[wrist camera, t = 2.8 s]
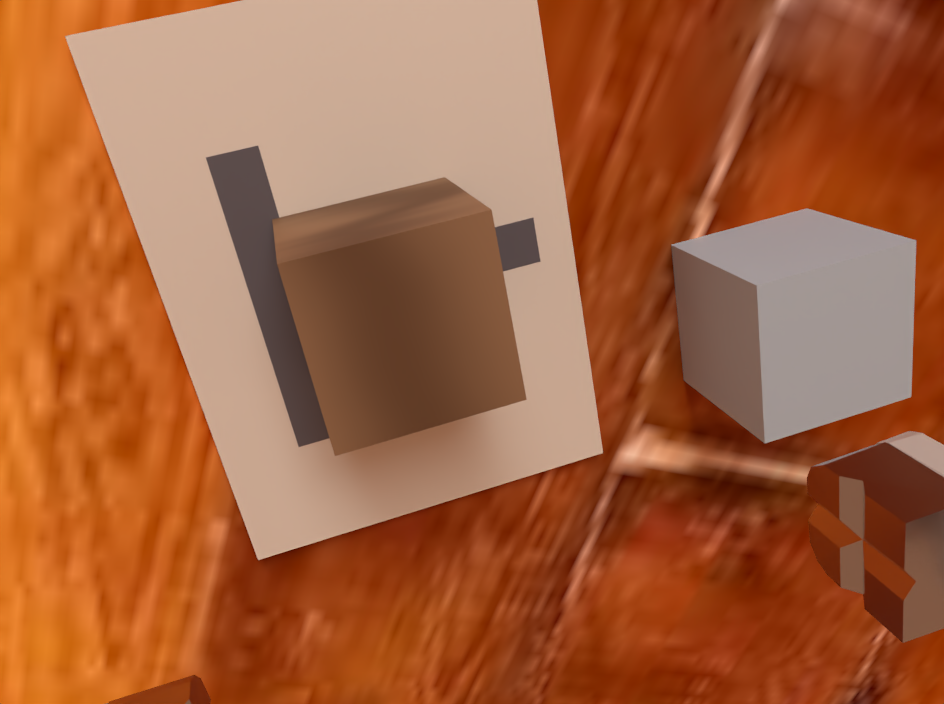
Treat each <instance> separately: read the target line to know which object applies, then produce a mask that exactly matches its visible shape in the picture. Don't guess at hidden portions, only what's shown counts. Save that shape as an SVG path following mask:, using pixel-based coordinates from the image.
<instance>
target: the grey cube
mask: <svg viewBox="0 0 944 704" xmlns="http://www.w3.org/2000/svg"><path fill="white" fill-rule="evenodd" d="M671 249H672V259H673V270H674V281H675V292H676V303H677V313H678V324H679V335H680V346H681V356H682V367H683V378H684V381H685V382H686V383H687V384H689V385H690V386H691V387H693V388H694V389H695V390H696V391H698V392H699V393H700V394H702V395H703V396H704V397H705V398H707V399H708V400H709V401H711V402H712V403H713V404H714V405H716V406H717V407H718V408H720V409H721V410H722V411H723V412H725V413H726V414H727V415H729V416H730V417H731V418H733V419H734V420H735V421H736V422H738V423H739V424H740V425H742V426H743V427H744V428H745V429H747V430H748V431H749V432H751V433H752V434H753V435H754V436H756V437H757V438H758V439H760V440H761V441H762V442H763V443H768V442H771V441H774V440H778V439H781V438H784V437H787V436H790V435H793V434H796V433H800V432H803V431H806V430H809V429H812V428H815V427H818V426H822V425H825V424H828V423H831V422H834V421H837V420H840V419H844V418H847V417H850V416H853V415H856V414H859V413H862V412H866V411H869V410H872V409H875V408H878V407H881V406H884V405H888V404H891V403H894V402H897V401H900V400H903V399H906V398H910V397H911V388H912V357H913V326H914V295H915V264H916V240H913V239H909V238H906V237H903V236H899V235H896V234H892V233H889V232H886V231H882V230H879V229H875V228H872V227H869V226H865V225H862V224H858V223H855V222H851V221H848V220H845V219H841V218H838V217H834V216H831V215H828V214H824V213H821V212H817V211H814V210H811V209H803V210H799V211H796V212H792V213H788V214H784V215H781V216H777V217H773V218H769V219H766V220H762V221H758V222H755V223H751V224H747V225H743V226H740V227H736V228H732V229H729V230H725V231H721V232H717V233H714V234H710V235H706V236H702V237H699V238H695V239H691V240H688V241H684V242H680V243H676V244H673V245H671Z"/></svg>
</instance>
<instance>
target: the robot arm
mask: <svg viewBox="0 0 944 704" xmlns="http://www.w3.org/2000/svg"><path fill="white" fill-rule="evenodd" d="M807 494H808V495H809V496H810V497H811V498H812V499H814V500H815V501H816V502H817V503H818V504H817V506H816V508H815V510H814V512H813V513H812V515H811V517H810V519H809V521H808V524H809V537H810V544H811V546H812V548H813V551H814V553H815V556H816V558H817V561H818V562H819V564H820V565H821V567H822V568H823V569H824V571H825V572H826V574H827V575H828V576H829V577H830V578H831V579H832V580H833V581H834V582H836V583H837V584H838V585H839V586H840V587H841V588H845V589H848V590H851V591H854V592H858V593H861V594H863V598H864V607H865V610H867V611H868V612H869V613H870V614H871V615H872V616H873V617H874V618H876V619H877V620H878V621H879V622H880V623H881V624H882V625H883V626H885V627H886V628H887V629H888V630H889V631H890V632H891V633H892V634H894V635H895V636H896V637H897V638H898V639H899V640H900V641H901V642H906V641H909V640H912V639H915V638H918V637H920V636H923V635H926V634H929V633H932V632H935V631H937V630H940V629H943V628H944V445H942V444H941V443H939V442H937V441H935V440H934V439H932V438H930V437H928V436H926V435H925V434H923V433H919V432H912V431H908V432H905V433H903V434H900V435H897V436H895V437H892V438H889V439H886V440H884V441H881V442H878V443H877V444H876V445H873V446H870V447H867V448H864V449H861V450H858V451H855V452H853V453H850V454H847V455H844V456H841V457H838V458H835V459H832V460H829V461H826V462H824V463H821V464H818V465H815V466H812V467H811V469H810V471H809V474H808V477H807ZM210 702H211V699H210V697H209V695H208V693H207V690H206V688H205V686H204V684H203V682H202V680H201V678H199V677H197V676H196V675H192V676H189V677H186V678H183V679H180V680H176V681H173V682H170V683H167V684H164V685H161V686H157V687H154V688H151V689H148V690H145V691H141V692H138V693H135V694H132V695H129V696H126V697H122V698H119V699H116V700H113V701H110V702H109V703H107V704H210Z"/></svg>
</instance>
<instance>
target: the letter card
mask: <svg viewBox="0 0 944 704" xmlns="http://www.w3.org/2000/svg"><path fill="white" fill-rule="evenodd" d="M65 38H66V40H67V43H68V46H69V48H70V51H71V54H72V57H73V59H74V62H75V65H76V67H77V70H78V73H79V76H80V78H81V81H82V84H83V86H84V89H85V92H86V95H87V97H88V100H89V103H90V105H91V108H92V111H93V114H94V116H95V119H96V122H97V124H98V127H99V130H100V133H101V135H102V138H103V141H104V143H105V146H106V149H107V152H108V154H109V157H110V160H111V162H112V165H113V168H114V170H115V173H116V176H117V179H118V181H119V184H120V187H121V189H122V192H123V195H124V198H125V200H126V203H127V206H128V208H129V211H130V214H131V217H132V219H133V222H134V225H135V227H136V230H137V233H138V236H139V238H140V241H141V244H142V246H143V249H144V252H145V255H146V257H147V260H148V263H149V265H150V268H151V271H152V274H153V276H154V279H155V282H156V284H157V287H158V290H159V293H160V295H161V298H162V301H163V303H164V306H165V309H166V312H167V314H168V317H169V320H170V322H171V325H172V328H173V331H174V333H175V336H176V339H177V341H178V344H179V347H180V349H181V352H182V355H183V358H184V360H185V363H186V366H187V368H188V371H189V374H190V377H191V379H192V382H193V385H194V387H195V390H196V393H197V396H198V398H199V401H200V404H201V406H202V409H203V412H204V415H205V417H206V420H207V423H208V425H209V428H210V431H211V434H212V436H213V439H214V442H215V444H216V447H217V450H218V453H219V455H220V458H221V461H222V463H223V466H224V469H225V472H226V474H227V477H228V480H229V482H230V485H231V488H232V491H233V493H234V496H235V499H236V501H237V504H238V507H239V509H240V512H241V515H242V518H243V520H244V523H245V526H246V528H247V531H248V534H249V537H250V539H251V542H252V545H253V547H254V550H255V553H256V556H257V558H258V560H260V559H263V558H267V557H270V556H273V555H276V554H280V553H283V552H286V551H289V550H292V549H296V548H299V547H302V546H305V545H309V544H312V543H315V542H318V541H321V540H325V539H328V538H331V537H334V536H337V535H341V534H344V533H347V532H350V531H354V530H357V529H360V528H363V527H366V526H370V525H373V524H376V523H379V522H383V521H386V520H389V519H392V518H395V517H399V516H402V515H405V514H408V513H411V512H415V511H418V510H421V509H424V508H428V507H431V506H434V505H437V504H440V503H444V502H447V501H450V500H453V499H457V498H460V497H463V496H466V495H469V494H473V493H476V492H479V491H482V490H485V489H489V488H492V487H495V486H498V485H502V484H505V483H508V482H511V481H514V480H518V479H521V478H524V477H527V476H531V475H534V474H537V473H540V472H543V471H547V470H550V469H553V468H556V467H559V466H563V465H566V464H569V463H572V462H576V461H579V460H582V459H585V458H588V457H592V456H595V455H598V454H601V453H603V449H602V442H601V435H600V428H599V422H598V415H597V408H596V401H595V394H594V387H593V381H592V374H591V367H590V360H589V353H588V346H587V339H586V333H585V326H584V319H583V312H582V305H581V298H580V291H579V285H578V278H577V271H576V264H575V257H574V250H573V244H572V237H571V230H570V223H569V216H568V209H567V202H566V196H565V189H564V182H563V175H562V168H561V161H560V155H559V148H558V141H557V134H556V127H555V120H554V113H553V107H552V100H551V93H550V86H549V79H548V72H547V66H546V59H545V52H544V45H543V38H542V31H541V24H540V18H539V11H538V4H537V0H243V1H238V2H233V3H228V4H223V5H218V6H213V7H208V8H203V9H198V10H193V11H188V12H183V13H178V14H173V15H168V16H163V17H158V18H153V19H148V20H143V21H138V22H133V23H128V24H123V25H118V26H113V27H108V28H103V29H98V30H93V31H88V32H83V33H78V34H73V35H68V36H65ZM443 177H445V178H447V179H448V180H450V181H451V182H453V183H454V184H455V185H457V186H458V187H460V188H461V189H463V190H464V191H465V192H467V193H468V194H470V195H471V196H473V197H474V198H476V199H477V200H478V201H480V202H481V203H483V204H484V205H486V206H487V207H489V208H490V209H491V210H492V214H493V220H494V225H495V231H496V236H497V242H498V247H499V252H500V258H501V263H502V269H503V274H504V279H505V285H506V290H507V296H508V301H509V307H510V312H511V317H512V323H513V328H514V334H515V339H516V344H517V350H518V355H519V361H520V366H521V372H522V377H523V382H524V388H525V393H526V399H527V400H524V401H520V402H517V403H514V404H510V405H507V406H504V407H500V408H497V409H493V410H490V411H487V412H483V413H480V414H476V415H473V416H470V417H466V418H463V419H459V420H456V421H453V422H449V423H446V424H442V425H439V426H436V427H432V428H429V429H426V430H422V431H419V432H415V433H412V434H409V435H405V436H402V437H398V438H395V439H392V440H388V441H385V442H381V443H378V444H375V445H371V446H368V447H364V448H361V449H358V450H354V451H351V452H348V453H344V454H341V455H337V456H335V454H334V451H333V448H332V445H331V441H330V438H329V435H328V431H327V428H326V425H325V421H324V418H323V415H322V411H321V408H320V405H319V401H318V398H317V395H316V392H315V388H314V385H313V382H312V378H311V375H310V372H309V368H308V365H307V362H306V358H305V355H304V352H303V348H302V345H301V342H300V339H299V335H298V332H297V329H296V325H295V322H294V319H293V315H292V312H291V309H290V305H289V302H288V299H287V295H286V292H285V289H284V286H283V282H282V279H281V276H280V272H279V269H278V266H277V259H276V250H275V241H274V231H273V222H272V219H276V218H280V217H284V216H288V215H292V214H296V213H300V212H304V211H309V210H313V209H317V208H321V207H325V206H329V205H333V204H337V203H341V202H345V201H349V200H353V199H358V198H362V197H366V196H370V195H374V194H378V193H382V192H386V191H390V190H394V189H398V188H403V187H407V186H411V185H415V184H419V183H423V182H427V181H431V180H435V179H439V178H443Z"/></svg>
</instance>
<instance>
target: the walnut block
mask: <svg viewBox="0 0 944 704" xmlns="http://www.w3.org/2000/svg"><path fill="white" fill-rule="evenodd" d="M272 222H273V231H274V241H275V250H276V259H277V266H278V269H279V272H280V276H281V279H282V282H283V286H284V289H285V292H286V295H287V299H288V302H289V305H290V309H291V312H292V315H293V319H294V322H295V325H296V329H297V332H298V335H299V339H300V342H301V345H302V348H303V352H304V355H305V358H306V362H307V365H308V368H309V372H310V375H311V378H312V382H313V385H314V388H315V392H316V395H317V398H318V401H319V405H320V408H321V411H322V415H323V418H324V421H325V425H326V428H327V431H328V435H329V438H330V441H331V445H332V448H333V451H334V454H335V456H337V455H341V454H344V453H348V452H351V451H354V450H358V449H361V448H364V447H368V446H371V445H375V444H378V443H381V442H385V441H388V440H392V439H395V438H398V437H402V436H405V435H409V434H412V433H415V432H419V431H422V430H426V429H429V428H432V427H436V426H439V425H442V424H446V423H449V422H453V421H456V420H459V419H463V418H466V417H470V416H473V415H476V414H480V413H483V412H487V411H490V410H493V409H497V408H500V407H504V406H507V405H510V404H514V403H517V402H520V401H524V400H527V399H526V393H525V388H524V382H523V377H522V372H521V366H520V361H519V355H518V350H517V344H516V339H515V334H514V328H513V323H512V317H511V312H510V307H509V301H508V296H507V290H506V285H505V279H504V274H503V269H502V263H501V258H500V252H499V247H498V242H497V236H496V231H495V225H494V220H493V214H492V210H491V209H490V208H489V207H487V206H486V205H484V204H483V203H481V202H480V201H478V200H477V199H476V198H474V197H473V196H471V195H470V194H468V193H467V192H465V191H464V190H463V189H461V188H460V187H458V186H457V185H455V184H454V183H453V182H451V181H450V180H448V179H447V178H445V177H443V178H439V179H435V180H431V181H427V182H423V183H419V184H415V185H411V186H407V187H403V188H398V189H394V190H390V191H386V192H382V193H378V194H374V195H370V196H366V197H362V198H358V199H353V200H349V201H345V202H341V203H337V204H333V205H329V206H325V207H321V208H317V209H313V210H309V211H304V212H300V213H296V214H292V215H288V216H284V217H280V218H276V219H272Z"/></svg>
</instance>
